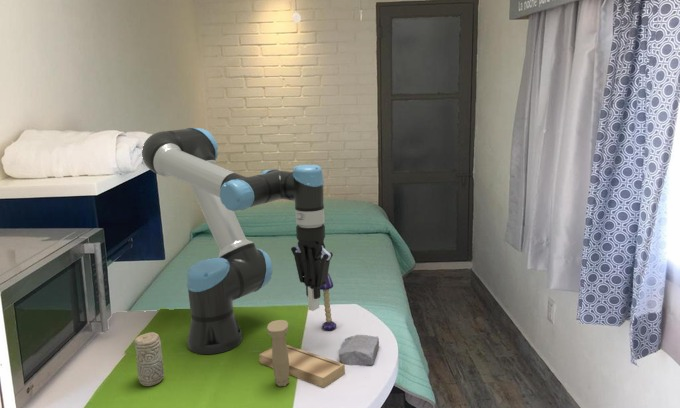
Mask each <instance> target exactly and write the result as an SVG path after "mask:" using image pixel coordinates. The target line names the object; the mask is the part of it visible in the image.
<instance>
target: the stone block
mask: <svg viewBox="0 0 680 408" xmlns="http://www.w3.org/2000/svg"><path fill="white" fill-rule="evenodd" d="M379 339H380V338H379V336H373V335H368V334H357V335H352V336H349V337H347V338H345V339H344V341H343V342H342V343H341V345H340V347H339V349H338V359H339V363H342V364H344V366H345V365H347V366H373V365H374V363H375V360H376V357H377V353H378V350H379V348H380V345H379V344H380V340H379Z"/></svg>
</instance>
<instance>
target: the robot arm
mask: <svg viewBox="0 0 680 408" xmlns="http://www.w3.org/2000/svg"><path fill="white" fill-rule="evenodd" d="M143 145H144V146H143ZM143 145H142V148H143V150H142V149H141V157H143V158H142V160H143V163H144V164H145V166H146V167H147V168H148V169H149V170H150V171H151V172H153V173H154V174H157V175H159V176H162V177H173V178H174V179H177V180H180V181H181V182H184V183H186V184H189V185H190V188H191V190H192V192H193V195H194V197H195V199H196V202H197V203H198V206H199V207H200V210H201V212H202V214H203V217H204V218H205V221H206V224H207V226H208V228H209V230H210V233H211V234H212V237H213V239H214V242H215V243H216V245H217V247H218V250H219V254H218V256H217V257H212V258H209V259H207V258H206V259H203V260H200V261H197V262H196V263H194V264H193V265H191V267H189V269H188V270H187V273H186V279H187V280H186V282H187V283H186V287H187V290H188V291H187V292H188V299H189V301H188V302H189V309H190V319H191V320H190V321H191V322H190V326H189V331H188V336H187V347H188V350H189V351H190V352H192V353H195V354H198V355H213V354H214V355H215V354H220V353H224V352H228V351H230V350H233V349H234V348H237V346H239V345H240V344H241V343H242V341H243V331H242V329H241V327H240V325H239V322H238V320H237V319H236V316H235V313H234V305H233V304H234V302H233V301H235V300H238V299H240V298H242V297H245V296H247V295H250V294H252V293H254V292H257V291H259V290H261V289H262V288H264V287H266V286H267V285H269V283H270V282H271V279H272V275H273V262H272V260H271V258H270V255H269V254H268V253H267V252H266V251H265V250H263V249H260V248H257V247H256V245H255V243H254V241H253V240H249V239H247V237H246V235H245V233H244V231H243V228H242V227H241V224H240V222H239V220H238V217H237V216H236V213H235V211H244V210H247V209H249V208H253V207H256V206H260V205H264V204H267V203H271V202H275V201H278V200H287V201H292V202H293V201H294V209H295V210H294V211H295V223H296V227H295V229H296V230H295V231H296V232H295V235H296V239H297V245H295V246H292V247H291V249H290V251H291V252H292V254H293V257H294V262H295V265H296V270H297V274H298V279H299V282H300V283H303V284H304V286H305V289H306V291H305V293H306V297H307V301H308V303H307V304H308V310H309V311H311V312H314V311H316V310H318V309H319V308H320V298H321V290H320V287H321V286H323V285H325V284H326V282H327V276H328V273H329V271H330V263H331V262H330V261H331V260H332V258H333V255H334V254H333V252H332V251H331V252H329V251H327V249H326V245H325V243H324V240H325V237H326V226H325V224H324V223H326V221H325V204H324V184H325V183H324V182H325V181H324V177H323V176H324V174H323V168H322V167H321V166H320V165H317V164H300V165H296V166H294V168H293V171H288V170H287V171H286V170H279V169H265V170H262V172H261V173H260V174H256V175H252V176H244V175H242V174H239V173H237V172H234V171H232V170H230V169H227V168H225V167H222V166H219V165H217V163H218V162H217V158H218V155H219V152H218V148H219V146H218V143H217V141H216V138H215V137H214V135H213V134H212V133H211V132H210V131H208V130H207V129H205V128H202V127H188V128H183V129H182V128H181V129H174V130H163V131H162V130H161V131H158V132H155V133H153V134H152V135H150V136H149V137H148V138H147V139H146V140H145V141H144V143H143Z"/></svg>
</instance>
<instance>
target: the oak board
mask: <svg viewBox="0 0 680 408" xmlns="http://www.w3.org/2000/svg"><path fill="white" fill-rule="evenodd" d="M287 351H288V358H289V376H293V377H295V378H298V379H300V380H303V381H306V382H308V383H311V384H313V385H316V386H318V387H320V388H326V387H327V386H329V385H330V384H332V383H333V382H335V381H336V380H337V379H339V378H341V377H342V376H344V375H345V374H346V373H345V372H346V371H345V370H346V369H345V365H344V364H342V363H341V362H340V361H335V360H333V359H330V358H327V357H324V356H321V355H318V354H315V353H313V352H310V351H307V350H303V349H301V348H297V347H295V346H291V345H289V344H287ZM258 357H259V358H258V359H259V364H261V365H264V366H265V367H269V368H272V369H273V361H272V347H270V348H268V349H266V350H265V351H262V352H261V353H259V354H258Z"/></svg>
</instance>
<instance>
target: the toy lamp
mask: <svg viewBox="0 0 680 408" xmlns="http://www.w3.org/2000/svg"><path fill="white" fill-rule="evenodd" d="M333 287H334V282H333V280H332V277H331V275H330V273H329V272H328V276H327V282H326V284H325V285H323V286H321V287H320V291H322V292H323V293H322V296H323V305H324V312H325V313H324V314H325V321H324V323H322V327H321V329H322V330H323V331H326V332H328V331H329V332H330V331H335V330H336V329H337V324H336V322H334V321H333V319H332V312H331V311H332V310H331V309H332V308H331V303H330V293H329V291H330V290H331V289H332V288H333Z"/></svg>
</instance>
